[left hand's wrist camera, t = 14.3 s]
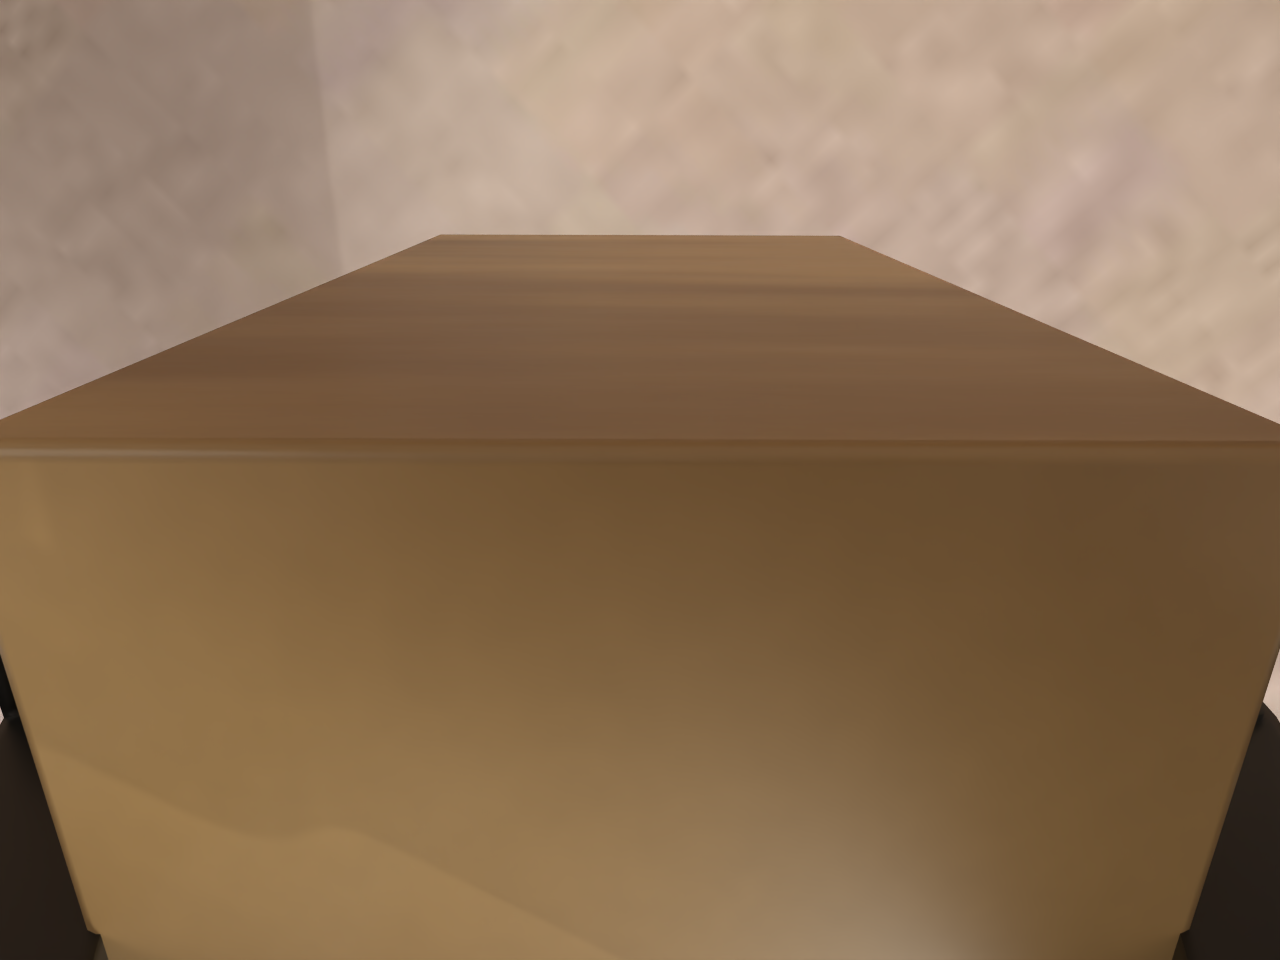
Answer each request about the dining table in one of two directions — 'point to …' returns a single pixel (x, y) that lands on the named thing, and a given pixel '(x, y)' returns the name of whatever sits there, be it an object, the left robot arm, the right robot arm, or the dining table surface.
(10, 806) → the left robot arm
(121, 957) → the box
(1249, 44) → the dining table surface
